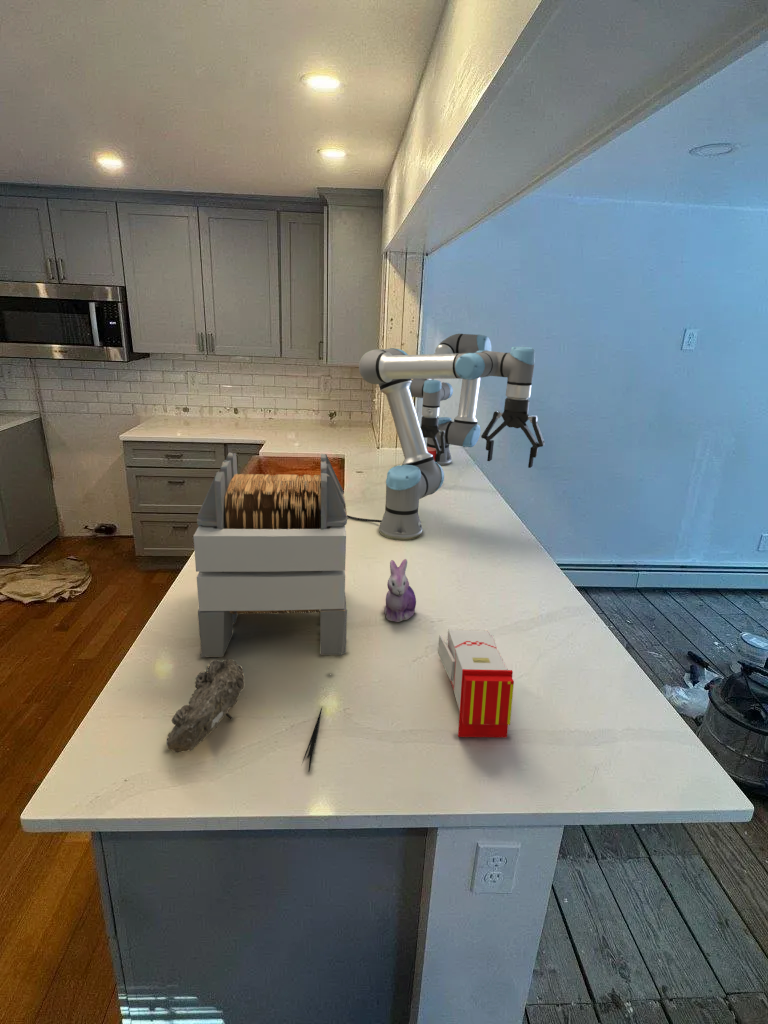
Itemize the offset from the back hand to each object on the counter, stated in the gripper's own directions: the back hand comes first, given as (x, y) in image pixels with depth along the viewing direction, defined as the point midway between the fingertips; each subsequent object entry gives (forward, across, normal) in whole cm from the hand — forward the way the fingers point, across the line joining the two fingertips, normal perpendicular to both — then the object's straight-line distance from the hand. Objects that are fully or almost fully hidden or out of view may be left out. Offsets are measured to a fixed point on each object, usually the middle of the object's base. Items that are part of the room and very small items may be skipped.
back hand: (426, 466), depth 255 cm
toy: (+9, +35, -144) cm, 148 cm away
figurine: (+9, +14, -117) cm, 118 cm away
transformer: (+9, -15, -129) cm, 130 cm away
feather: (+9, +8, -161) cm, 161 cm away
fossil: (+9, -12, -166) cm, 167 cm away
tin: (+2, 0, 0) cm, 2 cm away
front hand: (-20, +36, -60) cm, 73 cm away
